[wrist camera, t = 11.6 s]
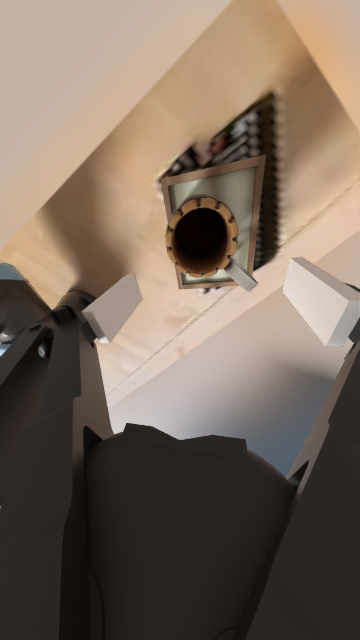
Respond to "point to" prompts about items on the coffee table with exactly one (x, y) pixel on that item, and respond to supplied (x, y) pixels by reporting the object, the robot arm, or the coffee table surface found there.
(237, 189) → the framed mirror
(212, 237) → the mug
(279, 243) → the coffee table surface
